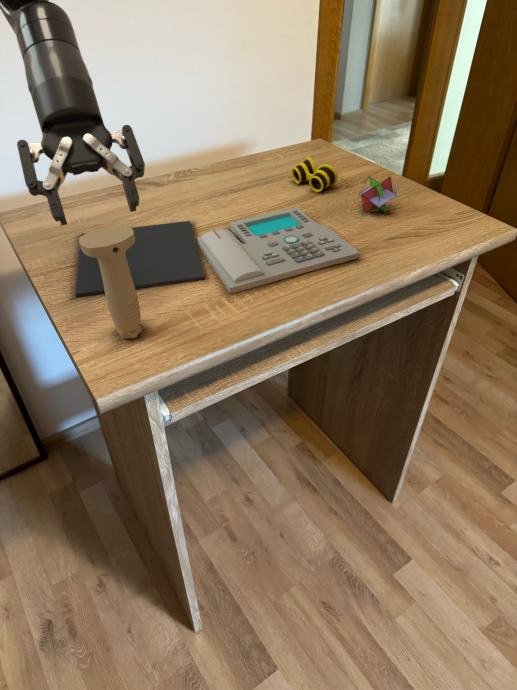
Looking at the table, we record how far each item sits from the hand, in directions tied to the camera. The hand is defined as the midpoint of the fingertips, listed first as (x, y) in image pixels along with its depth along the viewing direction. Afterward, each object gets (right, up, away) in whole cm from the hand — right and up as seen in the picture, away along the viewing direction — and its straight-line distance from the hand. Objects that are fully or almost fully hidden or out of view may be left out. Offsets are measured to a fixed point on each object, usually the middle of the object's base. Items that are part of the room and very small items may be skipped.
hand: (99, 216), depth 60 cm
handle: (+2, -14, +8) cm, 16 cm away
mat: (-1, -1, +23) cm, 23 cm away
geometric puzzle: (+43, +10, +35) cm, 56 cm away
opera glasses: (+32, +18, +45) cm, 58 cm away
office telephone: (+22, +1, +25) cm, 33 cm away
